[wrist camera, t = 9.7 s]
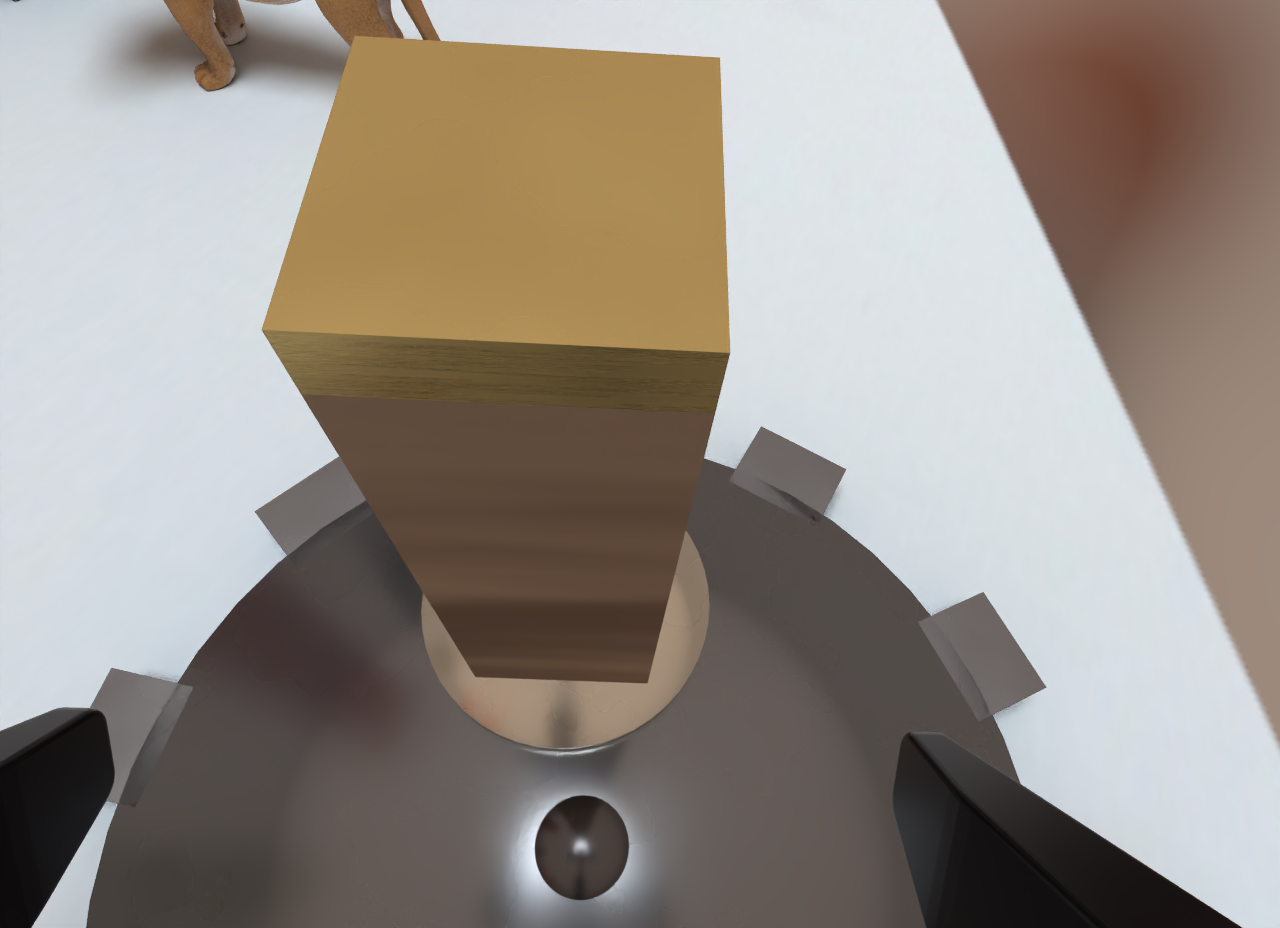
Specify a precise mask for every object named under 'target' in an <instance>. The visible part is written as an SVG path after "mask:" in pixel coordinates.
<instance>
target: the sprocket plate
mask: <svg viewBox="0 0 1280 928" xmlns="http://www.w3.org/2000/svg"><path fill="white" fill-rule="evenodd" d="M845 471H846V469H844V468H842V467H840V466H839V465H837V464H835V463H833V462H831V461H829V460H827V459H825V458H823V457H821V456H819V455H817V454H815V453H813V452H811V451H809V450H807V449H805V448H803V447H801V446H799V445H797V444H795V443H793V442H791V441H789V440H787V439H785V438H783V437H781V436H779V435H777V434H775V433H773V432H771V431H769V430H767V429H765V428H763V427H761V428H760V429H759V431H758V433H757V435H756V436H755V438H754V440H753V441H752V443H751V445H750V446H749V448H748V450H747V451H746V453H745V455H744V456H743V458H742V460H741V461H740V463H739V465H738V466H737V468H736V469H733V468H730V467H727V466H724V465H721V464H719V463H716V462H713V461H710V460H707V459H703V463H702V467H701V471H700V475H699V479H698V483H697V487H696V491H695V495H694V499H693V503H692V507H691V511H690V515H689V519H688V523H687V527H686V531H685V535H684V539H683V543H682V547H681V551H680V555H679V559H678V563H677V567H676V571H675V575H674V579H673V583H672V587H671V591H670V595H669V599H668V603H667V607H666V611H665V615H664V619H663V623H662V627H661V631H660V635H659V639H658V643H657V647H656V651H655V655H654V659H653V663H652V667H651V671H650V675H649V679H648V683H620V682H592V681H565V680H538V679H511V678H483V677H475V676H474V674H473V673H472V671H471V669H470V668H469V666H468V664H467V663H466V661H465V660H464V658H463V656H462V655H461V653H460V651H459V650H458V648H457V647H456V645H455V643H454V642H453V640H452V638H451V637H450V635H449V634H448V632H447V630H446V629H445V627H444V625H443V624H442V622H441V621H440V619H439V617H438V616H437V614H436V612H435V611H434V609H433V608H432V606H431V604H430V603H429V601H428V599H427V598H426V596H425V595H424V593H423V591H422V590H421V588H420V586H419V585H418V583H417V582H416V580H415V578H414V577H413V575H412V573H411V572H410V570H409V569H408V567H407V565H406V564H405V562H404V560H403V559H402V557H401V556H400V554H399V552H398V551H397V549H396V547H395V546H394V544H393V543H392V541H391V539H390V538H389V536H388V534H387V533H386V531H385V530H384V528H383V526H382V525H381V523H380V521H379V520H378V518H377V517H376V515H375V513H374V512H373V510H372V508H371V507H370V505H369V504H368V502H367V500H366V499H365V497H364V495H363V494H362V492H361V491H360V489H359V487H358V486H357V484H356V482H355V481H354V479H353V478H352V476H351V474H350V473H349V471H348V469H347V468H346V466H345V465H344V463H343V461H342V460H341V458H340V456H339V457H338V458H336V459H335V460H333V461H332V462H330V463H328V464H327V465H325V466H324V467H322V468H321V469H319V470H318V471H316V472H315V473H313V474H312V475H310V476H308V477H307V478H305V479H304V480H302V481H301V482H299V483H298V484H296V485H295V486H293V487H292V488H290V489H288V490H287V491H285V492H284V493H282V494H281V495H279V496H278V497H276V498H275V499H273V500H272V501H270V502H268V503H267V504H265V505H264V506H262V507H261V508H259V509H258V510H256V511H255V513H256V514H257V515H258V517H259V518H260V519H261V521H262V522H263V523H264V525H265V526H266V528H267V529H268V530H269V532H270V533H271V534H272V536H273V537H274V538H275V540H276V541H277V543H278V544H279V545H280V547H281V548H282V549H283V551H284V552H285V553H286V555H287V556H286V557H285V558H284V559H283V560H281V561H280V562H279V563H278V564H277V565H276V566H275V567H274V568H273V569H272V570H271V571H270V572H269V573H268V574H267V575H266V576H265V577H264V578H263V579H262V580H261V581H260V582H259V583H258V584H256V585H255V586H254V587H253V588H252V589H251V590H250V591H249V592H248V593H247V594H246V595H245V596H244V597H243V598H242V599H241V600H240V601H239V602H238V603H237V604H236V606H235V607H234V608H233V609H232V610H231V612H230V613H229V614H228V615H227V617H226V618H225V619H224V620H223V622H222V623H221V624H220V625H219V626H218V628H217V629H216V630H215V631H214V633H213V634H212V635H211V636H210V637H209V639H208V640H207V641H206V642H205V644H204V645H203V646H202V647H201V648H200V650H199V651H198V652H197V654H196V655H195V657H194V658H193V660H192V662H191V663H190V665H189V666H188V668H187V669H186V671H185V672H184V674H183V675H182V677H181V678H180V680H179V682H178V683H173V682H169V681H165V680H161V679H156V678H152V677H148V676H144V675H140V674H135V673H131V672H127V671H123V670H119V669H114V668H111V670H110V672H109V674H108V675H107V677H106V679H105V681H104V683H103V685H102V687H101V689H100V690H99V692H98V694H97V696H96V698H95V700H94V702H93V703H92V705H91V707H90V708H95V709H98V710H100V711H101V712H102V713H103V714H104V716H105V717H106V721H107V726H108V732H109V737H110V743H111V749H112V755H113V761H114V767H115V779H114V784H113V787H112V790H111V793H110V795H109V797H108V799H107V800H106V801H109V802H113V803H117V804H118V805H117V808H116V811H115V813H114V816H113V819H112V821H111V824H110V827H109V829H108V832H107V836H106V840H105V844H104V848H103V852H102V856H101V860H100V864H99V868H98V872H97V875H96V879H95V883H94V887H93V891H92V895H91V899H90V904H89V911H88V919H87V926H86V928H926V926H925V923H924V919H923V916H922V912H921V908H920V905H919V901H918V898H917V894H916V890H915V887H914V883H913V880H912V876H911V873H910V869H909V865H908V862H907V858H906V855H905V851H904V847H903V844H902V840H901V837H900V833H899V829H898V826H897V822H896V819H895V815H894V810H893V800H892V799H893V787H894V781H895V775H896V769H897V763H898V757H899V750H900V745H901V741H902V739H903V737H904V735H905V734H907V733H908V732H938V733H942V734H944V735H945V736H947V737H949V738H950V739H952V740H953V741H955V742H956V743H958V744H959V745H961V746H963V747H964V748H966V749H967V750H969V751H970V752H972V753H973V754H975V755H976V756H978V757H980V758H981V759H983V760H984V761H986V762H987V763H989V764H990V765H992V766H993V767H995V768H996V769H998V770H1000V771H1001V772H1003V773H1004V774H1006V775H1007V776H1009V777H1010V778H1012V779H1013V780H1015V781H1017V782H1018V783H1020V781H1019V779H1018V776H1017V773H1016V771H1015V768H1014V765H1013V762H1012V760H1011V757H1010V754H1009V751H1008V749H1007V746H1006V743H1005V741H1004V738H1003V736H1002V734H1001V732H1000V730H999V728H998V725H997V723H996V721H995V719H994V717H993V714H995V713H997V712H999V711H1001V710H1003V709H1005V708H1007V707H1009V706H1011V705H1013V704H1015V703H1017V702H1019V701H1021V700H1023V699H1024V698H1026V697H1028V696H1030V695H1032V694H1034V693H1036V692H1038V691H1040V690H1042V689H1044V688H1046V686H1045V685H1044V683H1043V682H1042V680H1041V679H1040V677H1039V676H1038V674H1037V672H1036V671H1035V669H1034V668H1033V666H1032V665H1031V663H1030V662H1029V660H1028V659H1027V657H1026V656H1025V654H1024V653H1023V651H1022V650H1021V648H1020V647H1019V645H1018V644H1017V642H1016V641H1015V639H1014V638H1013V636H1012V635H1011V633H1010V632H1009V630H1008V629H1007V627H1006V626H1005V624H1004V623H1003V621H1002V620H1001V618H1000V617H999V615H998V614H997V612H996V611H995V609H994V608H993V606H992V604H991V603H990V601H989V600H988V598H987V597H986V595H985V594H984V592H982V593H980V594H978V595H976V596H974V597H971V598H969V599H967V600H965V601H963V602H961V603H958V604H956V605H954V606H952V607H950V608H948V609H945V610H943V611H941V612H939V613H937V614H934V615H932V616H930V614H929V613H928V612H927V611H926V609H925V608H924V607H923V606H922V604H921V603H920V602H919V601H918V600H917V598H916V597H915V596H914V595H913V593H912V592H911V591H910V590H909V589H908V588H907V587H906V586H905V585H904V584H903V583H902V582H901V581H900V580H899V579H898V578H897V577H896V576H895V575H894V574H893V573H892V572H891V571H890V570H889V569H888V568H887V567H886V566H885V565H884V564H883V563H882V562H881V561H880V560H879V559H878V558H877V557H876V556H875V555H874V554H873V553H872V552H871V551H870V550H868V549H867V548H866V547H864V546H863V545H862V544H861V543H859V542H858V541H857V540H856V539H854V538H853V537H852V536H851V535H849V534H848V533H847V532H846V531H844V530H843V529H842V528H841V527H839V526H838V525H837V524H836V523H834V522H833V521H832V520H830V519H829V518H827V517H825V516H824V515H823V514H824V512H825V510H826V508H827V506H828V504H829V502H830V500H831V498H832V496H833V494H834V492H835V490H836V488H837V486H838V485H839V483H840V481H841V479H842V477H843V475H844V473H845Z"/></svg>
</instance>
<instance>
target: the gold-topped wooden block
mask: <svg viewBox="0 0 1280 928" xmlns="http://www.w3.org/2000/svg"><path fill="white" fill-rule="evenodd" d="M262 331H263V333H264V335H265V336H266V338H267V339H268V341H269V343H270V344H271V346H272V348H273V349H274V351H275V352H276V354H277V356H278V357H279V359H280V361H281V362H282V364H283V365H284V367H285V369H286V370H287V372H288V374H289V375H290V377H291V378H292V380H293V382H294V383H295V385H296V387H297V388H298V390H299V391H300V393H301V395H302V396H303V398H304V400H305V401H306V403H307V404H308V406H309V408H310V409H311V411H312V413H313V414H314V416H315V417H316V419H317V421H318V422H319V424H320V426H321V427H322V429H323V430H324V432H325V434H326V435H327V437H328V439H329V440H330V442H331V443H332V445H333V447H334V448H335V450H336V452H337V453H338V455H339V456H340V458H341V460H342V461H343V463H344V465H345V466H346V468H347V469H348V471H349V473H350V474H351V476H352V478H353V479H354V481H355V482H356V484H357V486H358V487H359V489H360V491H361V492H362V494H363V495H364V497H365V499H366V500H367V502H368V504H369V505H370V507H371V508H372V510H373V512H374V513H375V515H376V517H377V518H378V520H379V521H380V523H381V525H382V526H383V528H384V530H385V531H386V533H387V534H388V536H389V538H390V539H391V541H392V543H393V544H394V546H395V547H396V549H397V551H398V552H399V554H400V556H401V557H402V559H403V560H404V562H405V564H406V565H407V567H408V569H409V570H410V572H411V573H412V575H413V577H414V578H415V580H416V582H417V583H418V585H419V586H420V588H421V590H422V591H423V593H424V595H425V596H426V598H427V599H428V601H429V603H430V604H431V606H432V608H433V609H434V611H435V612H436V614H437V616H438V617H439V619H440V621H441V622H442V624H443V625H444V627H445V629H446V630H447V632H448V634H449V635H450V637H451V638H452V640H453V642H454V643H455V645H456V647H457V648H458V650H459V651H460V653H461V655H462V656H463V658H464V660H465V661H466V663H467V664H468V666H469V668H470V669H471V671H472V673H473V674H474V676H475V677H483V678H511V679H538V680H565V681H592V682H620V683H648V679H649V675H650V671H651V667H652V663H653V659H654V655H655V651H656V647H657V643H658V639H659V635H660V631H661V627H662V623H663V619H664V615H665V611H666V607H667V603H668V599H669V595H670V591H671V587H672V583H673V579H674V575H675V571H676V567H677V563H678V559H679V555H680V551H681V547H682V543H683V539H684V535H685V531H686V527H687V523H688V519H689V515H690V511H691V507H692V503H693V499H694V495H695V491H696V487H697V483H698V479H699V475H700V471H701V467H702V463H703V459H704V455H705V451H706V447H707V443H708V439H709V435H710V431H711V427H712V423H713V419H714V415H715V411H716V407H717V403H718V399H719V395H720V391H721V387H722V383H723V379H724V375H725V371H726V367H727V363H728V359H729V355H730V336H729V307H728V278H727V249H726V220H725V192H724V163H723V134H722V105H721V76H720V58H716V57H699V56H682V55H666V54H649V53H632V52H616V51H599V50H583V49H566V48H549V47H533V46H516V45H499V44H483V43H466V42H449V41H433V40H416V39H399V38H383V37H366V36H354V40H353V43H352V46H351V49H350V52H349V55H348V59H347V62H346V65H345V68H344V71H343V74H342V78H341V81H340V84H339V87H338V90H337V93H336V96H335V100H334V103H333V106H332V109H331V112H330V115H329V119H328V122H327V125H326V128H325V131H324V134H323V138H322V141H321V144H320V147H319V150H318V153H317V157H316V160H315V163H314V166H313V169H312V172H311V176H310V179H309V182H308V185H307V188H306V191H305V194H304V198H303V201H302V204H301V207H300V210H299V213H298V217H297V220H296V223H295V226H294V229H293V232H292V236H291V239H290V242H289V245H288V248H287V251H286V255H285V258H284V261H283V264H282V267H281V270H280V273H279V277H278V280H277V283H276V286H275V289H274V292H273V296H272V299H271V302H270V305H269V308H268V311H267V315H266V318H265V321H264V324H263V327H262Z"/></svg>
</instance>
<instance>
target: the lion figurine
mask: <svg viewBox="0 0 1280 928" xmlns="http://www.w3.org/2000/svg"><path fill="white" fill-rule="evenodd" d="M247 1H253V2H260V3H265V4H274V5H282V4H289V3H294V2H298V1H300V0H247ZM315 1H316V3H317V5H318V7H319V8H320V10H321V12H322V13H323V15H324V16H325V18H326V19H327V20H328V21H329V23H330V24H331V25H332V26H333V28H334V29H335V30H336V31H337V32H338V33H339V35H340V36H341V37H342V38H343V39H344V40H345V41H346V42H347V44H348V45H349V46H352V43H353V40H354V36H366V37H383V38H399V39H404V38H403V34H402V32H401V30H400V28H399V27H398V25H397V24H396V22H395V21H394V19H393V15H392V12H391V1H390V0H315ZM401 1H402V3H403V5H404V7H405V9H406V10H407V12H408V14H409V15H410V17H411V19H412V20H413V22H414V24H415V25H416V27H417V29H418V31H419V32H420V34H421V36H422V38H423V40H433V41H441V40H440V39H439V37H438V35H437V33H436V31H435V29H434V27H433V25H432V23H431V21H430V19H429V17H428V14H427V12H426V10H425V8H424V6H423V3H422V1H421V0H401ZM164 2H165V3H166V5H167V7H168V8H169V10H170V11H171V13H172V15H173V16H174V17H175V19H176V20H177V22H178V23H179V24H180V26H181V27H182V29H183V30H184V31H185V33H186V34H187V35H188V36H189V37H190V38H191V39H192V40H193V41H194V43H195V44H196V45H197V46H198V48H199V49H200V50H201V51H202V53H203V54H204V55H205V57H206V59H207V61H205V62H204V63H203V64H200V65H198V66H197V67H196V68H195V71H194V72H195V74H196V77H195V78H196V81H197V82H198V83H199V84H200V85H202V86H203V87H204V88H205V89H206V90H208V91H211V90H216V89H219V88H222V87H224V86H226V85H228V84H229V83H230V82H231V80H232V78H233V76H234V75H235V71H236V69H235V62H234V60H233V58H232V56H231V54H230V52H229V50H228V48H227V46H226V45H232V44H235V43H238V42H240V41H242V40H243V39H244V38H245V37H246V34H247V28H246V23H245V20H244V17H243V15H242V12H241V9H240V6H239V3H238V0H164ZM213 9H214V12H215V16H216V23H214V20H213ZM225 44H226V45H225Z"/></svg>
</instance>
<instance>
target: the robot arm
mask: <svg viewBox="0 0 1280 928" xmlns="http://www.w3.org/2000/svg"><path fill="white" fill-rule="evenodd" d="M114 779H115V767H114V761H113V755H112V749H111V743H110V737H109V732H108V726H107V721H106V717H105V716H104V714H103V713H102V712H101V711H100V710H98V709H95V708H69V707H63V708H57V709H54V710H52V711H49V712H47V713H44V714H42V715H39V716H37V717H34V718H32V719H29V720H27V721H24V722H22V723H19V724H17V725H14V726H12V727H9V728H7V729H4V730H2V731H0V928H31V927H32V926H33V924H34V922H35V921H36V919H37V918H38V916H39V914H40V913H41V911H42V910H43V908H44V906H45V905H46V903H47V901H48V900H49V898H50V896H51V895H52V893H53V891H54V889H55V888H56V886H57V884H58V883H59V881H60V879H61V877H62V876H63V874H64V872H65V871H66V869H67V867H68V865H69V864H70V862H71V860H72V859H73V857H74V855H75V853H76V852H77V850H78V848H79V847H80V845H81V843H82V841H83V840H84V838H85V836H86V835H87V833H88V831H89V829H90V828H91V826H92V824H93V823H94V821H95V819H96V817H97V816H98V814H99V812H100V811H101V809H102V807H103V805H104V804H105V802H106V800H107V799H108V797H109V795H110V793H111V790H112V787H113V784H114ZM892 800H893V810H894V815H895V819H896V822H897V826H898V829H899V833H900V837H901V840H902V844H903V847H904V851H905V855H906V858H907V862H908V865H909V869H910V873H911V876H912V880H913V883H914V887H915V890H916V894H917V898H918V901H919V905H920V908H921V912H922V916H923V919H924V923H925V926H926V928H1242V927H1240V926H1239V925H1237V924H1236V923H1234V922H1233V921H1231V920H1230V919H1228V918H1227V917H1225V916H1223V915H1222V914H1220V913H1219V912H1217V911H1216V910H1214V909H1213V908H1211V907H1210V906H1208V905H1206V904H1205V903H1203V902H1202V901H1200V900H1199V899H1197V898H1196V897H1194V896H1193V895H1191V894H1189V893H1188V892H1186V891H1185V890H1183V889H1182V888H1180V887H1179V886H1177V885H1176V884H1174V883H1172V882H1171V881H1169V880H1168V879H1166V878H1165V877H1163V876H1162V875H1160V874H1159V873H1157V872H1156V871H1154V870H1152V869H1151V868H1149V867H1148V866H1146V865H1145V864H1143V863H1142V862H1140V861H1139V860H1137V859H1135V858H1134V857H1132V856H1131V855H1129V854H1128V853H1126V852H1125V851H1123V850H1122V849H1120V848H1118V847H1117V846H1115V845H1114V844H1112V843H1111V842H1109V841H1108V840H1106V839H1105V838H1103V837H1101V836H1100V835H1098V834H1097V833H1095V832H1094V831H1092V830H1091V829H1089V828H1088V827H1086V826H1084V825H1083V824H1081V823H1080V822H1078V821H1077V820H1075V819H1074V818H1072V817H1071V816H1069V815H1068V814H1066V813H1064V812H1063V811H1061V810H1060V809H1058V808H1057V807H1055V806H1054V805H1052V804H1051V803H1049V802H1047V801H1046V800H1044V799H1043V798H1041V797H1040V796H1038V795H1037V794H1035V793H1034V792H1032V791H1030V790H1029V789H1027V788H1026V787H1024V786H1023V785H1021V784H1020V783H1018V782H1017V781H1015V780H1013V779H1012V778H1010V777H1009V776H1007V775H1006V774H1004V773H1003V772H1001V771H1000V770H998V769H996V768H995V767H993V766H992V765H990V764H989V763H987V762H986V761H984V760H983V759H981V758H980V757H978V756H976V755H975V754H973V753H972V752H970V751H969V750H967V749H966V748H964V747H963V746H961V745H959V744H958V743H956V742H955V741H953V740H952V739H950V738H949V737H947V736H945V735H944V734H942V733H938V732H908V733H907V734H905V735H904V737H903V739H902V741H901V745H900V750H899V757H898V763H897V769H896V775H895V781H894V787H893V799H892Z"/></svg>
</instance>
